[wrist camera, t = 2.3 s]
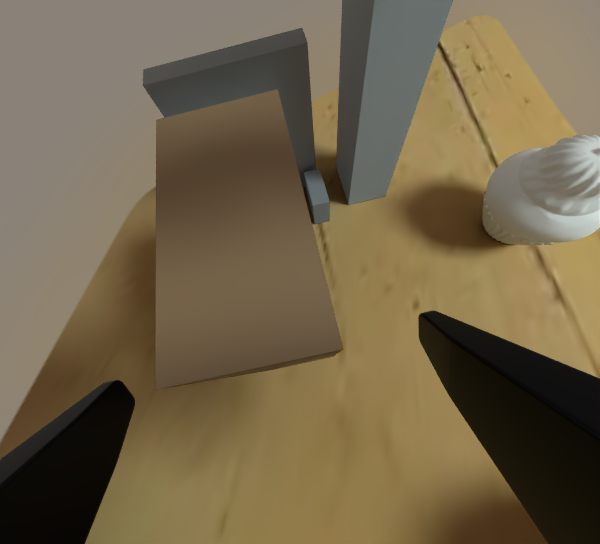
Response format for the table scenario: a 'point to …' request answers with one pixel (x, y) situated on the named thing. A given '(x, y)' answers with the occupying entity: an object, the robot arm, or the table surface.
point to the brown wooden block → (235, 248)
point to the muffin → (545, 194)
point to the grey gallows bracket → (352, 89)
